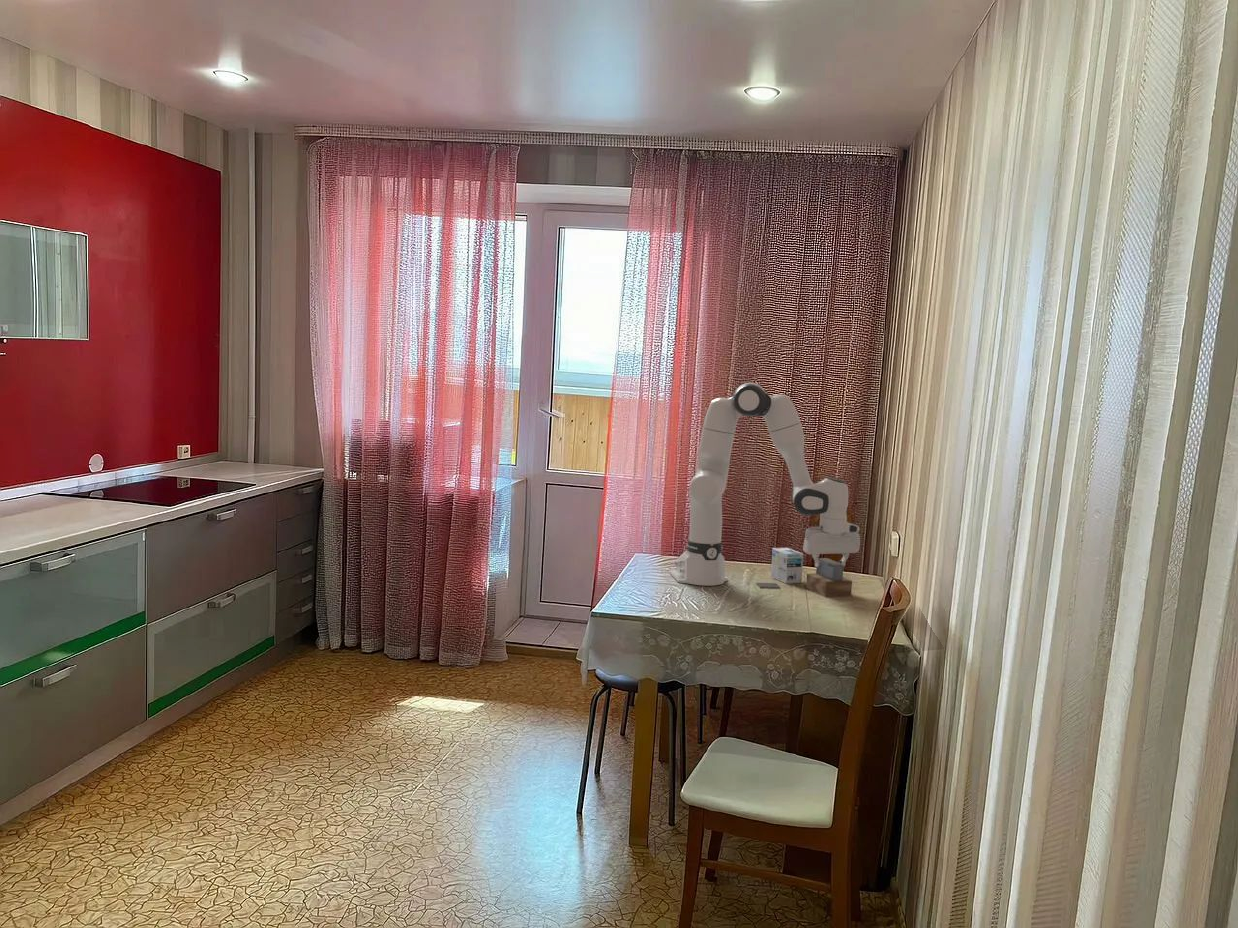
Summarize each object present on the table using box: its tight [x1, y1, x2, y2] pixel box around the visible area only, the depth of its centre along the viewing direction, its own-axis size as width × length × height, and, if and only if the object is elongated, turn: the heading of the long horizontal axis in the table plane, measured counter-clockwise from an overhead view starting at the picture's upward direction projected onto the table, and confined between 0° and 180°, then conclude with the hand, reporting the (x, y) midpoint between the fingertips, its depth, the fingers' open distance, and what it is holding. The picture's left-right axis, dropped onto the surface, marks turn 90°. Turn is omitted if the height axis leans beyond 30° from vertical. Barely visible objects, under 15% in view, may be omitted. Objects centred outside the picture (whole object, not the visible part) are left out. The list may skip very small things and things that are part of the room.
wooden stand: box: [805, 573, 853, 598], centre depth 315 cm, size 12×10×5 cm
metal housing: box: [815, 557, 845, 581], centre depth 314 cm, size 4×10×6 cm, turn 20°
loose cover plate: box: [755, 582, 781, 589], centre depth 319 cm, size 6×7×1 cm
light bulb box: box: [770, 547, 804, 584], centre depth 329 cm, size 11×7×11 cm, turn 22°
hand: (829, 566), depth 314 cm, fingers open, 8 cm apart
